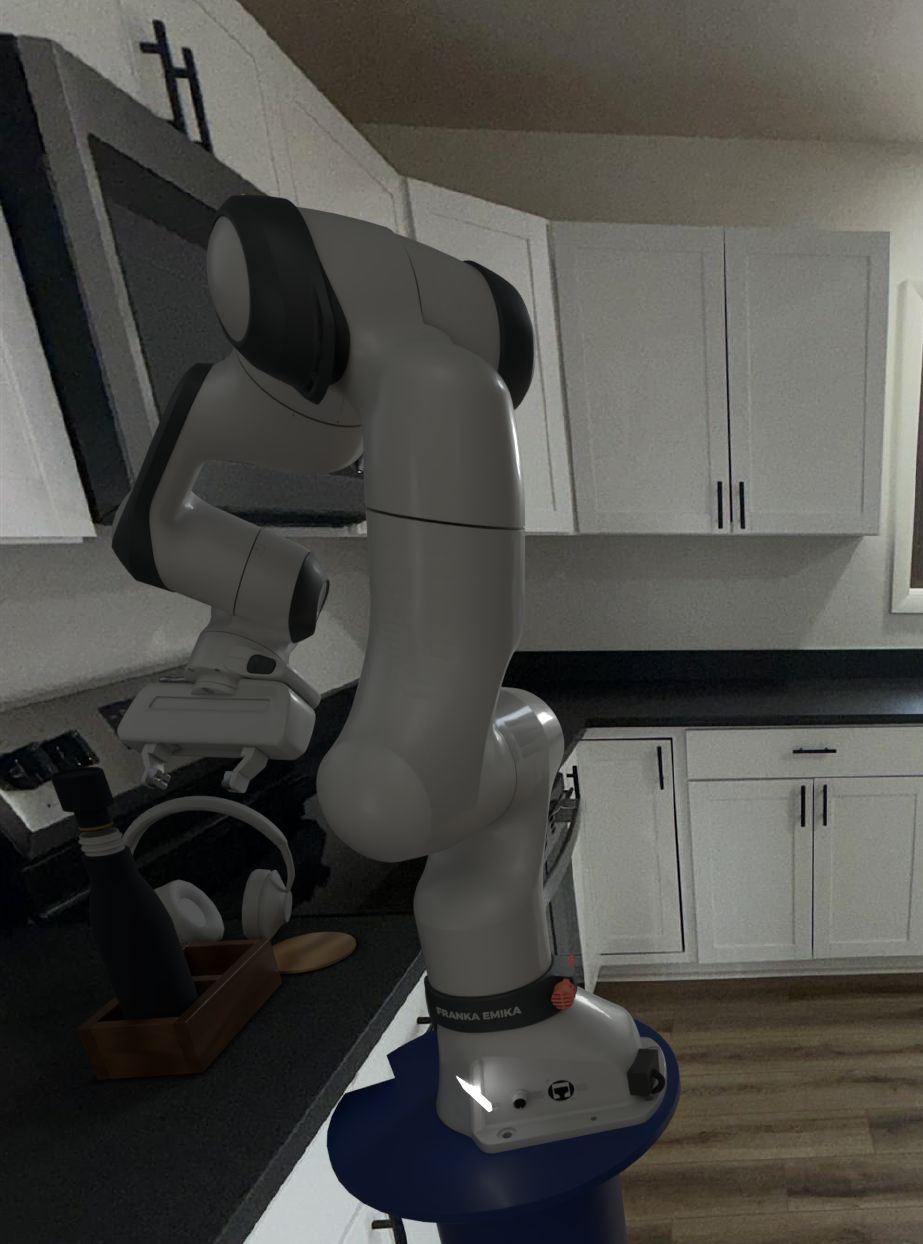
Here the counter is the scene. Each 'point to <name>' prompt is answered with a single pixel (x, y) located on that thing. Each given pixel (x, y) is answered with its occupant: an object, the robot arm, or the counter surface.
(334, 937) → the coaster
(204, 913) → the headphones
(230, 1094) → the counter surface
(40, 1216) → the counter surface
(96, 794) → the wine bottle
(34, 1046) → the counter surface
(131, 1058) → the wooden compartment tray
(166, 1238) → the counter surface
